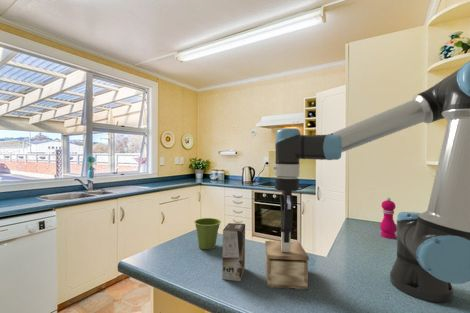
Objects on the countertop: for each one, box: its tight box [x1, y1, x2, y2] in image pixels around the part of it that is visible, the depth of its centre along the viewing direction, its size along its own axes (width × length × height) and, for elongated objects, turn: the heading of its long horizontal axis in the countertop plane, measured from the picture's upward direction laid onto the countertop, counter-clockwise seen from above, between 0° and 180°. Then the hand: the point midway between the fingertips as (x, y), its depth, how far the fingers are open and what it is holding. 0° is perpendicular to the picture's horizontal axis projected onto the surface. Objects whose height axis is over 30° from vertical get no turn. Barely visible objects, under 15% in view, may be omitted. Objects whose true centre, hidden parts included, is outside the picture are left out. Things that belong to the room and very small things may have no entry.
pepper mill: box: [379, 197, 397, 239], centre depth 117 cm, size 7×7×20 cm
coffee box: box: [221, 222, 246, 282], centre depth 78 cm, size 9×6×16 cm
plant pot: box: [193, 217, 222, 250], centre depth 101 cm, size 12×12×11 cm
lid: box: [264, 240, 310, 262], centre depth 77 cm, size 12×14×1 cm
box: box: [265, 252, 309, 290], centre depth 77 cm, size 12×14×8 cm
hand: (285, 251), depth 73 cm, fingers closed
